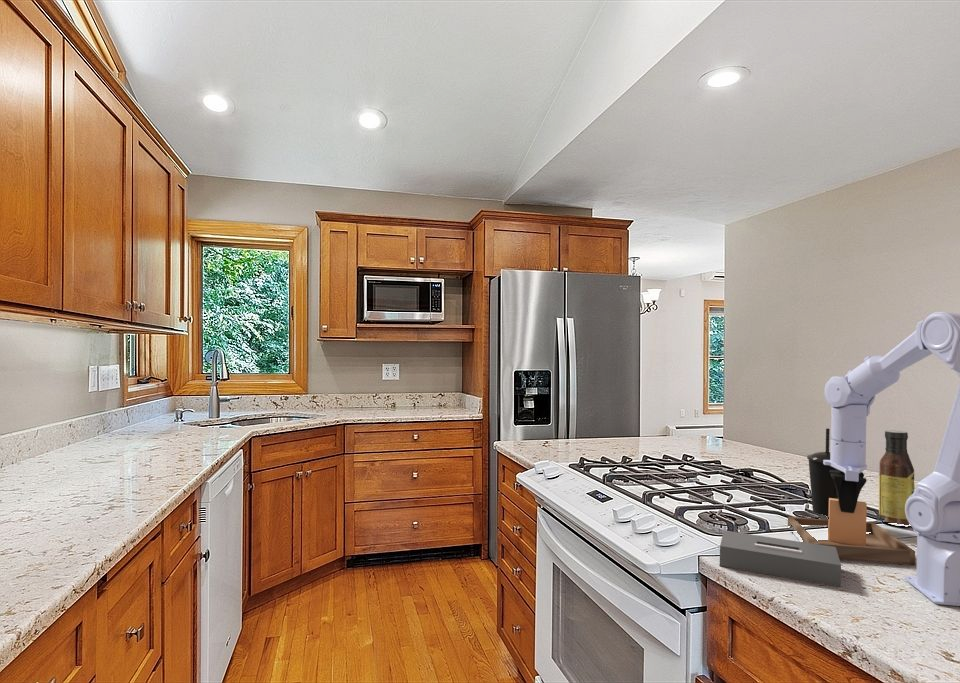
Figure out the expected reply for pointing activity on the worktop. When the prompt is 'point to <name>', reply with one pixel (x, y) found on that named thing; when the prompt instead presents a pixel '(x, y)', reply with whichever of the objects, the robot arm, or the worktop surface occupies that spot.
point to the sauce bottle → (895, 478)
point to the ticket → (847, 524)
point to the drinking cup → (821, 480)
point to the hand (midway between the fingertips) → (846, 510)
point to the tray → (876, 550)
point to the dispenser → (781, 558)
